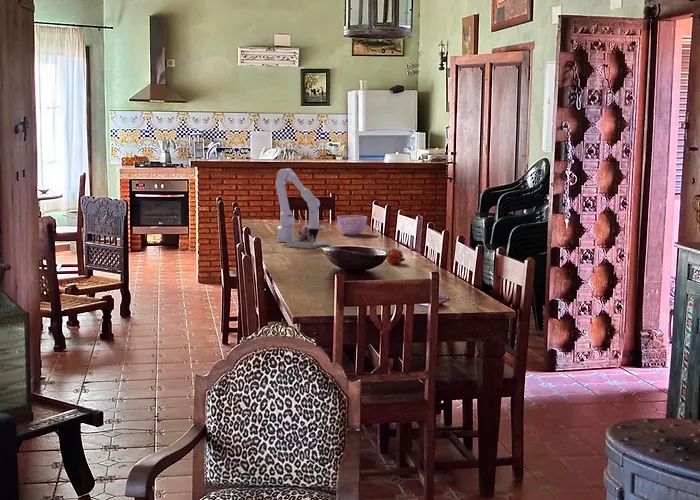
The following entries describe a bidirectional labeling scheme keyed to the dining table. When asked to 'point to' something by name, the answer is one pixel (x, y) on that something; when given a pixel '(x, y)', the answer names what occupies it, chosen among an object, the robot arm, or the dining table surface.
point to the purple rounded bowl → (351, 224)
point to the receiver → (305, 244)
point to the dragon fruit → (395, 257)
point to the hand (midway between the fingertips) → (313, 241)
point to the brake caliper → (304, 236)
